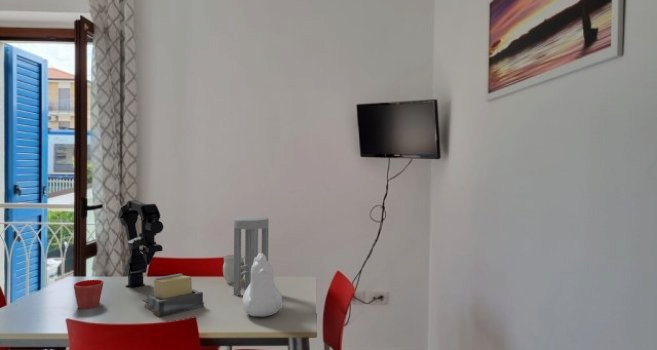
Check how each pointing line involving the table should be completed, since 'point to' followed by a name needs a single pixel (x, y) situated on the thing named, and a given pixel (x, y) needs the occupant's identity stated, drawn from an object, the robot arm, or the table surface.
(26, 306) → the table surface
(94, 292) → the flower pot
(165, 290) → the yellow box
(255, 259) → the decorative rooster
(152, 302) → the dock
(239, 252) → the stool
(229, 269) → the pitcher
